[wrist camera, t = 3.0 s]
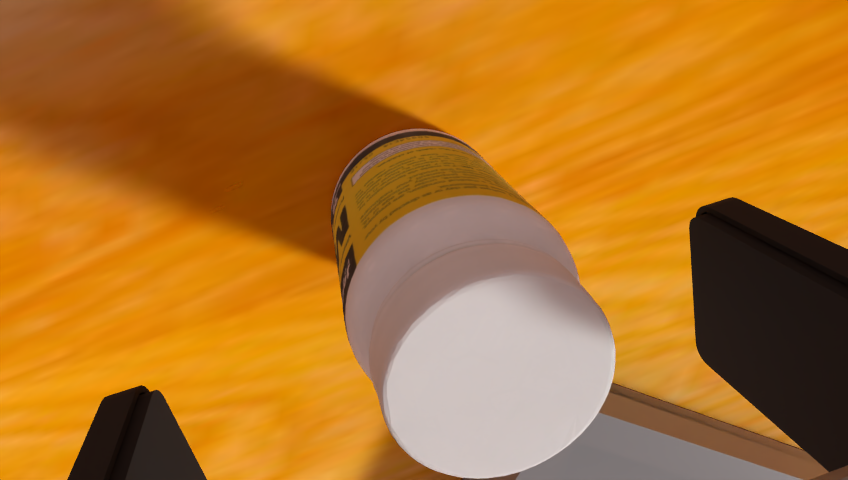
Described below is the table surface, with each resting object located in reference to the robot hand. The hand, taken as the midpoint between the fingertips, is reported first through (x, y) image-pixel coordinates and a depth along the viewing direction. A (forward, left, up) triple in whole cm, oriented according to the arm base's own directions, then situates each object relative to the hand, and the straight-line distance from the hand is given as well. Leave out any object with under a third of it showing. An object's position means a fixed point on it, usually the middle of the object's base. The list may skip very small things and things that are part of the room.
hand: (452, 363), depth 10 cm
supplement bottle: (0, +1, -8) cm, 8 cm away
